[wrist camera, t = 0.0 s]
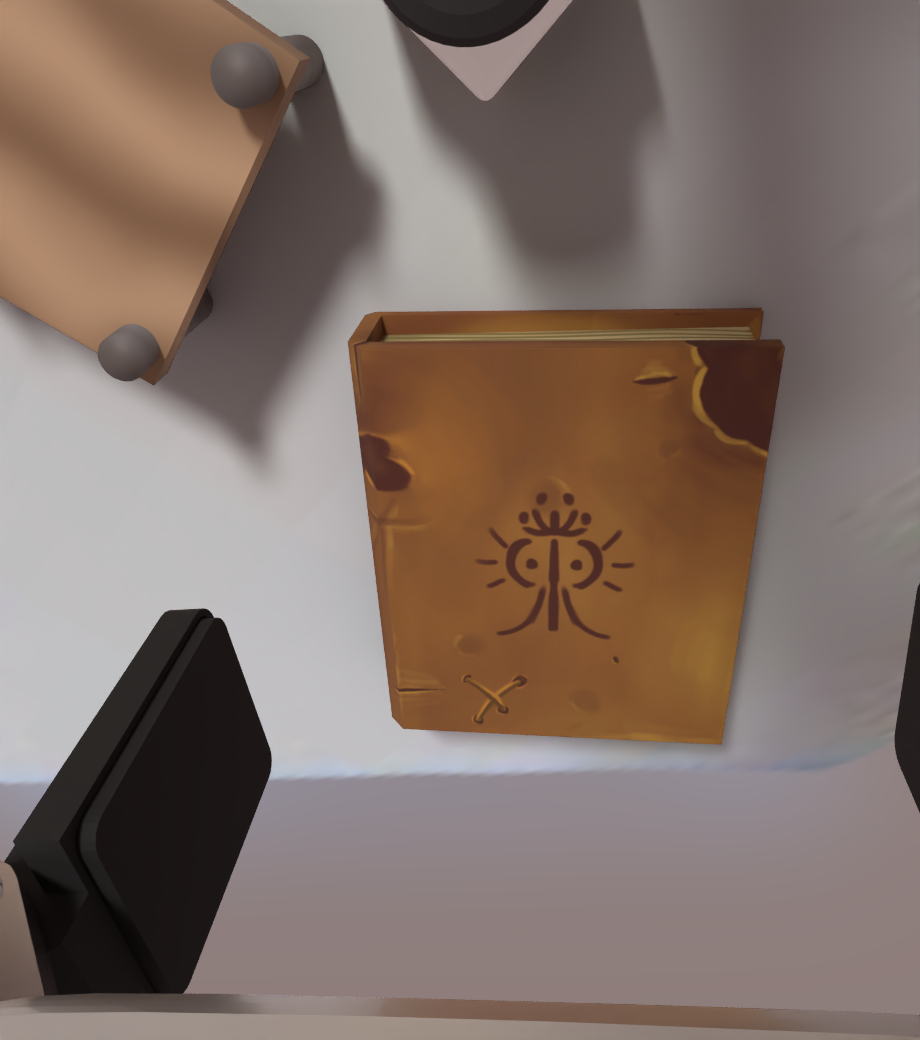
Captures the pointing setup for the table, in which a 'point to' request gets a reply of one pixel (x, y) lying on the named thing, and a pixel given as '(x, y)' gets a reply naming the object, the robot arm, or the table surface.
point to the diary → (563, 513)
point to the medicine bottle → (479, 35)
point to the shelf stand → (132, 161)
